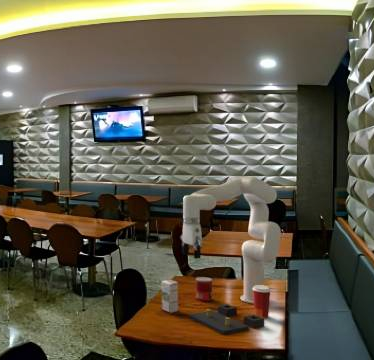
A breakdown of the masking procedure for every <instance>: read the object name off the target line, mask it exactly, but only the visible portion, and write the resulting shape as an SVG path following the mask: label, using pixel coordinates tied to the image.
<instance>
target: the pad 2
mask: <svg viewBox="0 0 374 360" xmlns="http://www.w3.org/2000/svg"><path fill="white" fill-rule="evenodd" d="M243 324H245V325H247V326H249V328H252V329H259V328H264V327H265V318H261V317H259V316H256V315H255V314H248V315H244V316H243Z"/></svg>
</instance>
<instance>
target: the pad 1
mask: <svg viewBox="0 0 374 360" xmlns="http://www.w3.org/2000/svg"><path fill="white" fill-rule="evenodd" d="M217 313H219V314H222V315H224V316H226V317H233V316H237V315H238V307H236V306H234V305H231V304H228V303H226V304H221V305H220V304H219V305H217Z"/></svg>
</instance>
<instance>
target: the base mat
mask: <svg viewBox="0 0 374 360" xmlns="http://www.w3.org/2000/svg"><path fill="white" fill-rule="evenodd" d="M188 317H189V319H191V320H192V321H195V322H197V323H199V324H201V325H203V326H205V327H207V328H209V329H211V330H213V331H215V332H217V333H219V334H221V335H224V336H225V335H229V334H234V333H239V332H245V331H249V330H250V327H249V326H247V325H245V324H244V323H242V322H240V321H239V320H236V319H233V318H231V317H230V316H228V317H226V316H224V315H222V314H220V313H218V311H215V310H211V309H210V308H206V311H203V312H196V313H190V314H188Z"/></svg>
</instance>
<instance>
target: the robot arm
mask: <svg viewBox="0 0 374 360" xmlns="http://www.w3.org/2000/svg"><path fill="white" fill-rule="evenodd" d="M242 195H243V197H244V199H245V201H246V202H247V203H248V205H249V207H250V214H249V215H250V216H249V221H248V229H247V233H248V235H249V237H251V238H254V239H248V240H245V241H244V242H243V243H242V245H241V254H242V260H243V295H240V301H241V302H244V303H247V304H251V305H252V304H253V305H254V291H253V287H254V286H255V285H263V286H265V283H264V282H265V268H264V267H265V266H264V264H263V263H273V262H274V261H276V259H277V258H278V257H277V256H278V253H279V247H280V243H281V242H280V241H281V237H282V236H281V235H282V232H281V227H280V226H279V224H278V223H276V222H273V221H269V214H270V211H269V207H268V204H272V203H274V202H275V201H276V200H277V198H278V194H277V190H276V189H275V188H274V187H273V186H271V184H268V183H267V182H266V181H263V180H262V179H260V178H257V177H254V176H237V177H236V178H234V179H231V180H229V181H226V182H224V183H222V184H217V185H214V186H210V187H206V188H202V189H200V190H197V191H194V192H193V193H191V194H187V195H184V197H183V198H182V209H183V210H182V224H183V225H182V234H181V235H180V240H181V241H180V242H181V247H182V255H189V254H190V246H192V247H193V248H194V249H193V258H194V259H197V260H198V259H201V253H202V249H203V245H204V242H203V237H202V227H201V224H200V223H201V222H200V221H201V217H200V214H201V212H200V211H211V210H213V209H214V208H215V207H216V205H217V202H227V201H230V200H232V199H234V198H237V197H239V196H242ZM255 239H259V240H255ZM261 240H263V241H261ZM189 245H190V246H189Z"/></svg>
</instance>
